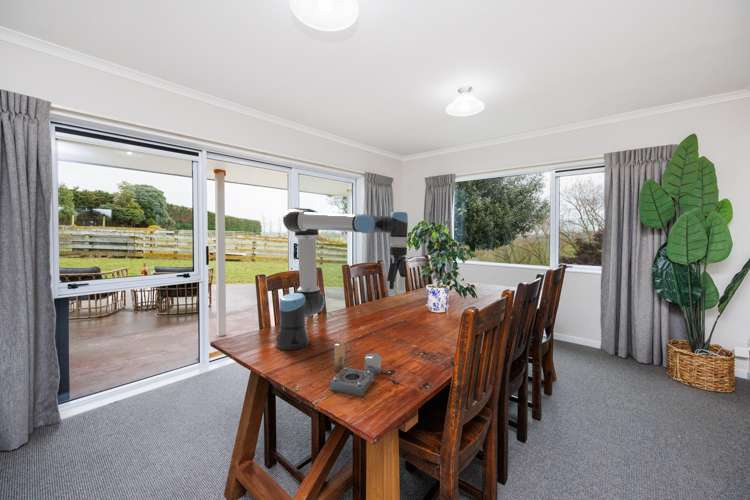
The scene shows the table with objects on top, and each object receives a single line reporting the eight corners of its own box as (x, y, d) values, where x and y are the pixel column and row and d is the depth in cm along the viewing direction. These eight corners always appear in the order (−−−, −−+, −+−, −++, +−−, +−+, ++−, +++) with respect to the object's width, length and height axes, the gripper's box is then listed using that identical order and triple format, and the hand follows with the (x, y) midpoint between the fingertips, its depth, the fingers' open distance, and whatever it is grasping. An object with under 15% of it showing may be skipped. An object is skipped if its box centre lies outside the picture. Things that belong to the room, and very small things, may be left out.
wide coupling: (362, 373, 123) (362, 358, 123) (367, 366, 130) (368, 352, 129) (377, 376, 121) (378, 360, 121) (382, 369, 127) (383, 354, 127)
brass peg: (332, 370, 126) (332, 345, 125) (336, 366, 129) (337, 341, 129) (341, 371, 124) (341, 346, 124) (345, 367, 128) (346, 343, 127)
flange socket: (329, 389, 110) (329, 379, 110) (344, 374, 122) (344, 365, 122) (362, 396, 107) (362, 386, 106) (373, 380, 118) (374, 370, 118)
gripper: (397, 248, 131) (395, 299, 132) (414, 245, 154) (412, 289, 155) (380, 247, 134) (379, 297, 135) (399, 244, 157) (398, 287, 158)
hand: (397, 293), depth 145 cm, fingers open, 13 cm apart
